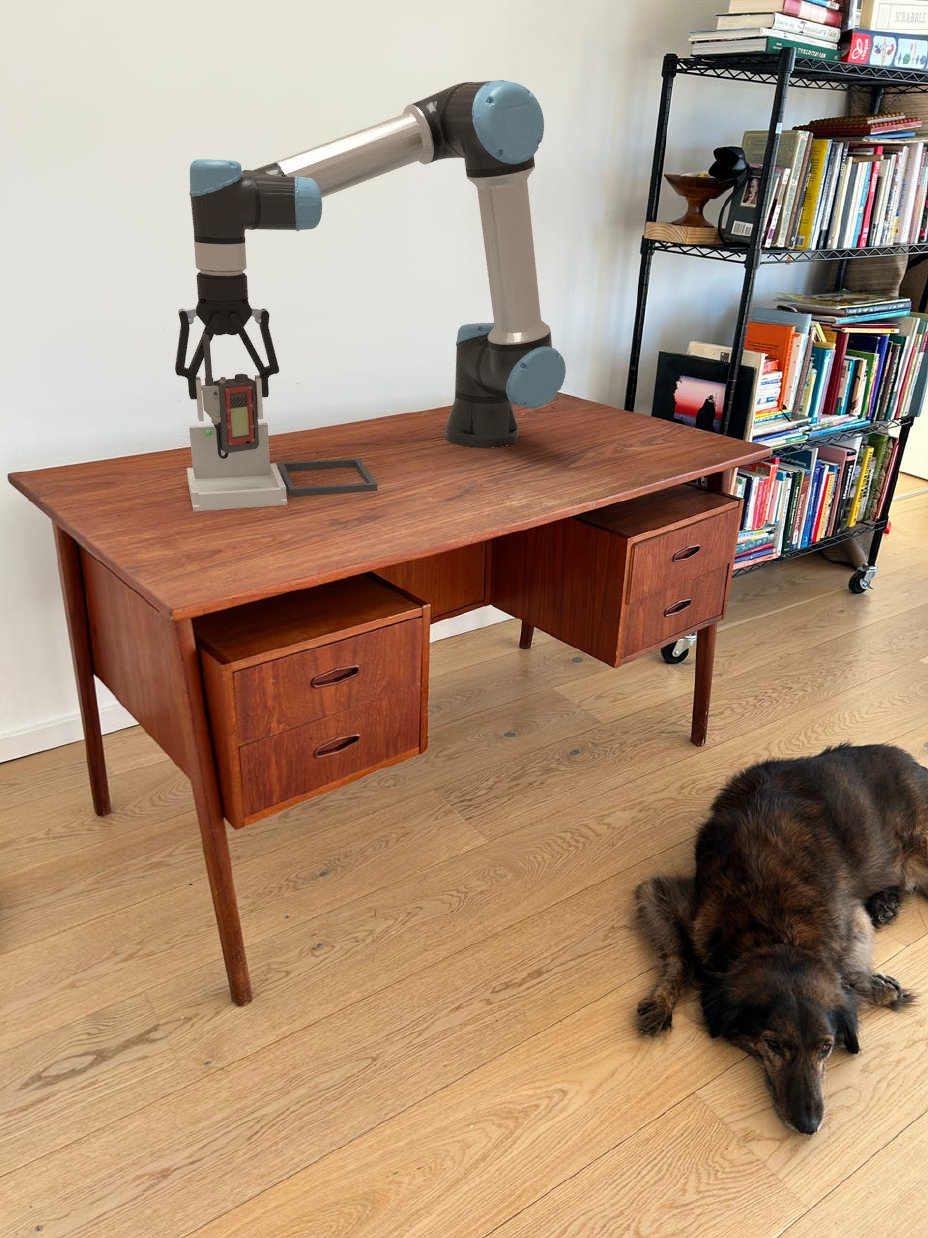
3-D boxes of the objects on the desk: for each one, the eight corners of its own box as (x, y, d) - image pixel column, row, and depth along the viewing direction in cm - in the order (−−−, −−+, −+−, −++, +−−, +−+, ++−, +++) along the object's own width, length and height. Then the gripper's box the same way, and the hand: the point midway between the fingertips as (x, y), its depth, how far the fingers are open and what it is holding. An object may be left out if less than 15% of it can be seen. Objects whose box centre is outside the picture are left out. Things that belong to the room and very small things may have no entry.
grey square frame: (359, 466, 180) (359, 458, 179) (377, 492, 167) (377, 484, 166) (277, 470, 175) (277, 462, 175) (290, 498, 163) (289, 489, 162)
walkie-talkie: (211, 463, 156) (202, 336, 147) (200, 455, 159) (190, 331, 150) (261, 455, 161) (255, 331, 152) (249, 448, 164) (243, 327, 155)
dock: (275, 477, 172) (272, 422, 167) (287, 506, 159) (285, 447, 154) (188, 482, 167) (182, 426, 163) (193, 512, 155) (188, 452, 150)
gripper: (288, 268, 153) (293, 409, 163) (147, 267, 147) (161, 414, 157) (295, 275, 147) (300, 421, 157) (148, 274, 141) (162, 426, 151)
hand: (230, 417), depth 157 cm, fingers closed on walkie-talkie, 9 cm apart
